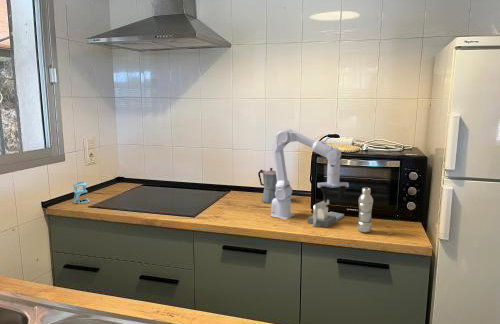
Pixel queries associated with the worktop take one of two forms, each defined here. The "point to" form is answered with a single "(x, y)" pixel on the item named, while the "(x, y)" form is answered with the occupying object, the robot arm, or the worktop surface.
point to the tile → (338, 215)
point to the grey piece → (315, 211)
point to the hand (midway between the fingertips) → (332, 201)
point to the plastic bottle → (365, 210)
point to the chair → (79, 192)
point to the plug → (323, 213)
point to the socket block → (323, 221)
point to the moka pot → (268, 185)
